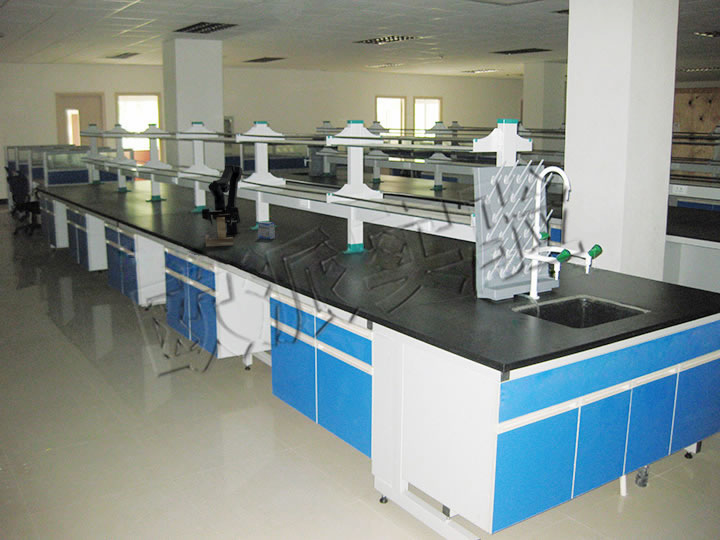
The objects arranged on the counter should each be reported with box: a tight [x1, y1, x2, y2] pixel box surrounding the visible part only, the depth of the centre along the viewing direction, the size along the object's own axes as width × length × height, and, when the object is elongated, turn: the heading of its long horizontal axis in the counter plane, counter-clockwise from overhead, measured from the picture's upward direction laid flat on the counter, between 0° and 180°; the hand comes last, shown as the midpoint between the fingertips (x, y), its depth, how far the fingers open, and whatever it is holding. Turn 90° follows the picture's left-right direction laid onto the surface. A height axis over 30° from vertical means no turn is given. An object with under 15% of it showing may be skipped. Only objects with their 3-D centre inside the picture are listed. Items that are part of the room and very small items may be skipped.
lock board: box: [204, 234, 235, 248], centre depth 361 cm, size 14×14×4 cm
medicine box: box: [257, 221, 276, 240], centre depth 372 cm, size 8×4×9 cm, turn 62°
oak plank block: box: [216, 217, 227, 239], centre depth 359 cm, size 4×4×12 cm
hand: (221, 226), depth 357 cm, fingers open, 9 cm apart
